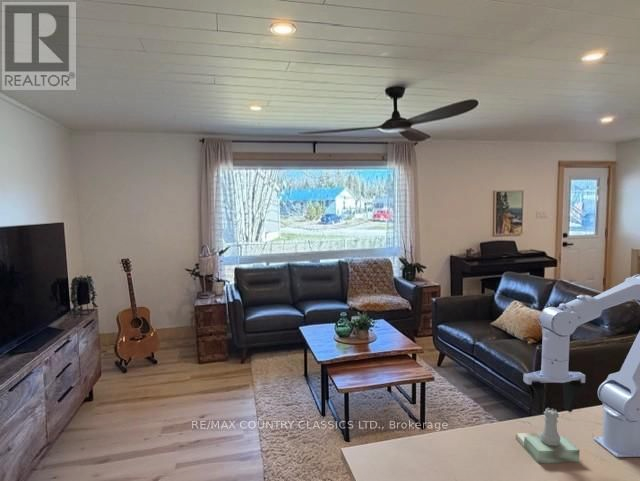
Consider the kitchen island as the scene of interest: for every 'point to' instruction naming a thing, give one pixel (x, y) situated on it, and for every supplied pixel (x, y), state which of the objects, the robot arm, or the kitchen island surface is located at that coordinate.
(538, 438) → the stepped riser
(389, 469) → the kitchen island surface
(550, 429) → the rook chess piece
